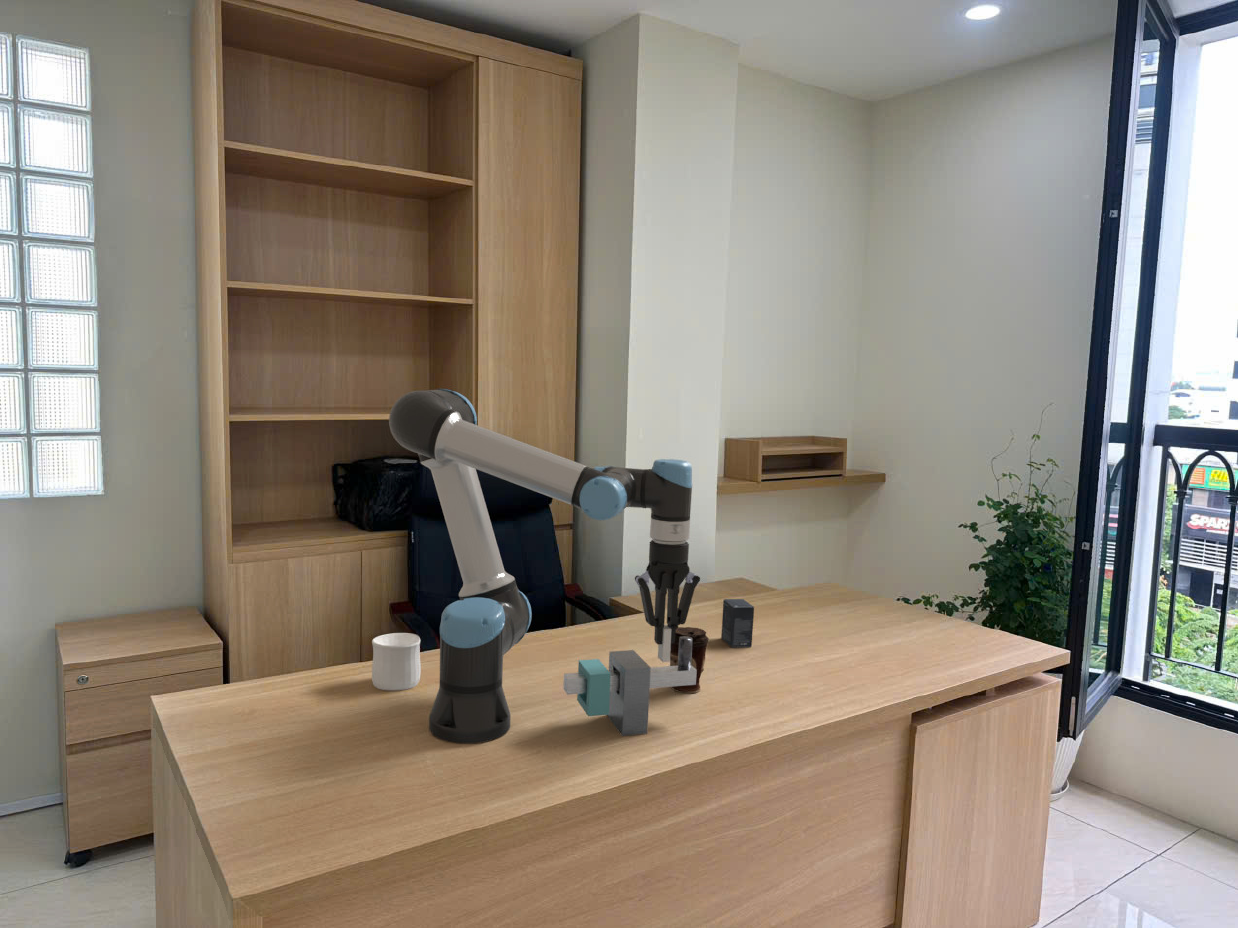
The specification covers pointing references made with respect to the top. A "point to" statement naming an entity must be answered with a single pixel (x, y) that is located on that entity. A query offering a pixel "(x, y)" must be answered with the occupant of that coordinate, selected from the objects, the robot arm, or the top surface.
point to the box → (737, 622)
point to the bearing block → (630, 693)
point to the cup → (396, 661)
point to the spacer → (595, 687)
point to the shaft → (658, 675)
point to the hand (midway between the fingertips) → (663, 659)
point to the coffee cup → (697, 654)
